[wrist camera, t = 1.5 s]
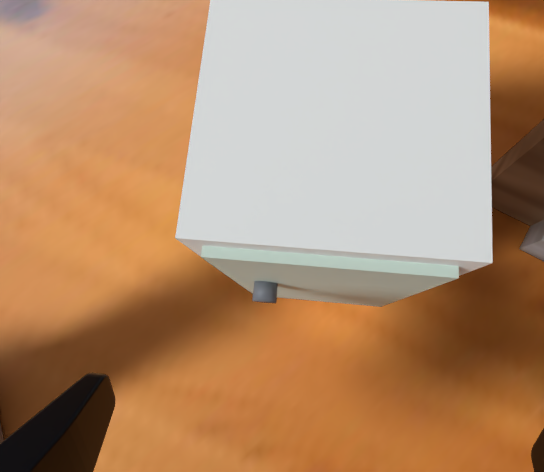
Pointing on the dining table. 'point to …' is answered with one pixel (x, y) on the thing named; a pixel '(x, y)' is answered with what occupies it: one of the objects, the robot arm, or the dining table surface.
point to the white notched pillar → (341, 147)
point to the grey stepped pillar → (1, 434)
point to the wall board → (523, 187)
